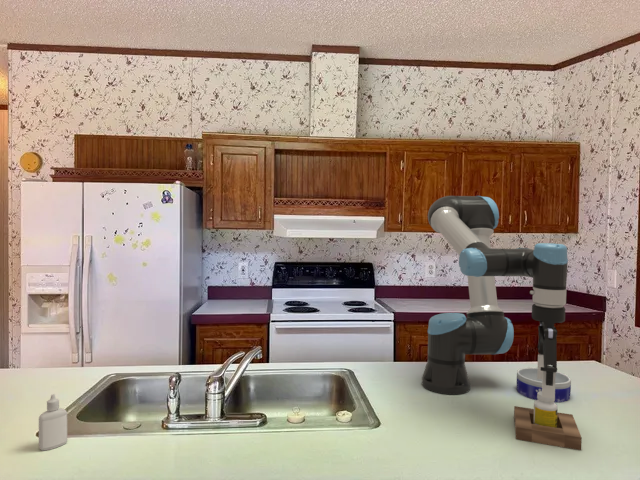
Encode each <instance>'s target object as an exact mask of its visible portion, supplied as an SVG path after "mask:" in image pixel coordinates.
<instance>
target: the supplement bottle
mask: <svg viewBox="0 0 640 480" xmlns="http://www.w3.org/2000/svg"><path fill="white" fill-rule="evenodd" d="M537 398H538V400H534V402H533V409H534V417H533V424H536V425H542V426H548V427H555V428H557V412H558V405H557V404H556V403H554V401H555V399H552V398H545V397H542V391H539V392H538V393H537Z"/></svg>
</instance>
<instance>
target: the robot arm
mask: <svg viewBox="0 0 640 480" xmlns="http://www.w3.org/2000/svg"><path fill="white" fill-rule="evenodd" d="M499 219H500V212H499V208H498V205H497V203H496V202H495V200H493V199H492V198H491V197H489V196H481V195H475V196H474V195H472V196H471V195H445V196H443V197H440V198H438V199H436V200H435V201H434V202H433V203H432V204H431V205H430V206H429V209H428V212H427V221H428V224H429V225H430V227H431V228H432V230H433V231H434V232H436V233H438V234H441V235H442V236H443V238H444V239H445V240H446V241H447V242H448V244H449V245H450V246H451V247H452V249H453V250H454V251H455V252H456V253H457V255H459V256H458V267H459V269H460V270H459V271H460V272H461V274H463V275H464V276H467V284H468V295H469V304H470V305H469V306H470V309H469V310H468V311H467V312H466V315H465V314H464V313H462V312H444V313H443V312H442V313H439V314H435V315H433V316H431V317H430V318H429V320H428V328H427V362H426V365H425V368H424V370H423V373H422V375H421V386H422V387H423V388H425V389H426V390H428V391H430V392H434V393H437V394H442V395H462V394H465V393H468V392H469V391H470V390H471V381H470V380H471V379H470V377H469V375H468V371H467V367H466V363H465V362H466V355H491V356H492V355H493V356H494V355H499V354H505V353H507V352H508V351H509V350H510V349H511V347H512V345H513V342H514V335H515V333H514V332H515V331H514V325H513V323H512V320H511V319H510V318H508V317H506V316H505V313H504V311H503V309H501V308H500V307H499V304H498V297H497V287H496V286H497V285H496V277H527V278H532V289H533V290H530V291H529V294H530V295H532V303H533V304H532V305H531V319H532V320H534V321H538V322H539V325H538V329H537V330H538V340H537V341H538V343H537V347H536V348H537V352H538V354H537V368H538V371H537V379H542V397H545V398H552V399H555V378H556V372H558V367H557V366H558V365H557V363H558V361H557V359H558V357H557V354H558V353H557V352H558V351H557V337H558V329H557V327H556V326H555V324H560V323H561V324H562V323H564V322H565V321H566V308H565V305H566V304H567V280H568V279H567V278H568V262H569V258H568V247H567V246H566V245H565V244H563V243H552V242H551V243H550V242H549V243H547V242H545V243H543V242H541V243H540V242H539V243H536V244H535V245H534V247H533V248H532V249H531V248H528V247H516V248H493V247H492V246H491V239H490V238H491V236H492V235H493V234H494V229H496V228H497V227H498V224H499ZM491 247H492V248H491Z"/></svg>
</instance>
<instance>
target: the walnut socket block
mask: <svg viewBox="0 0 640 480" xmlns="http://www.w3.org/2000/svg"><path fill="white" fill-rule="evenodd" d="M513 409H514V410H513V413H514V414H513V419H514V420H513V421H514V431H515V440H520V441H525V442H530V443H537V444H540V445H541V444H543V445H549V446H554V447H560V448H565V449H571V450H578V451H582V444H583V441H582V434H581V432H580V430H579V427H578V425H577V423H576V420H575V418H574V415H573V414H571V413H564V412H558V411H557V428H555V427H548V426H542V425H536V424H533V417H534V408H529V407H523V406H517V405H515V406H513Z"/></svg>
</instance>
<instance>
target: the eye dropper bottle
mask: <svg viewBox="0 0 640 480" xmlns="http://www.w3.org/2000/svg"><path fill="white" fill-rule="evenodd" d="M67 443H68V412H67V410H66V409H65V408H61V407H60V399H59V398H57V397H56V394H55V393H52V394H51V395H50V398H49V399H48V400H47V401H46V410H45V411H44V412H42V413H41V414H39V417H38V448H39V449H40V451H49V450H54V449H57V448H59V447H62V446H64V445H66V444H67Z"/></svg>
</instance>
